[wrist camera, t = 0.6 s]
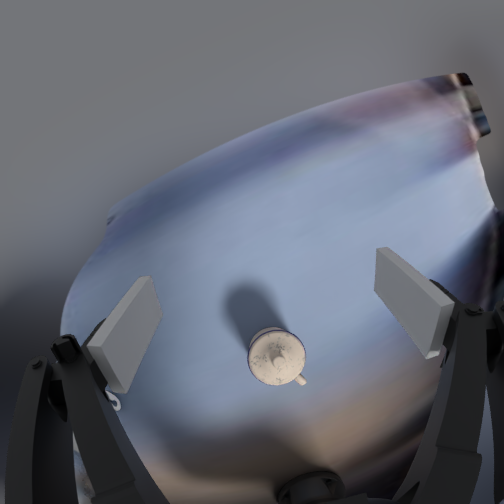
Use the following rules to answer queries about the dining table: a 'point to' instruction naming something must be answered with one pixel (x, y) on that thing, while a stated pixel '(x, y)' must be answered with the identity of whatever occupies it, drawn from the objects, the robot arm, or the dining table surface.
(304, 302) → the dining table surface
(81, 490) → the lid
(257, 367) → the teacup with lid
